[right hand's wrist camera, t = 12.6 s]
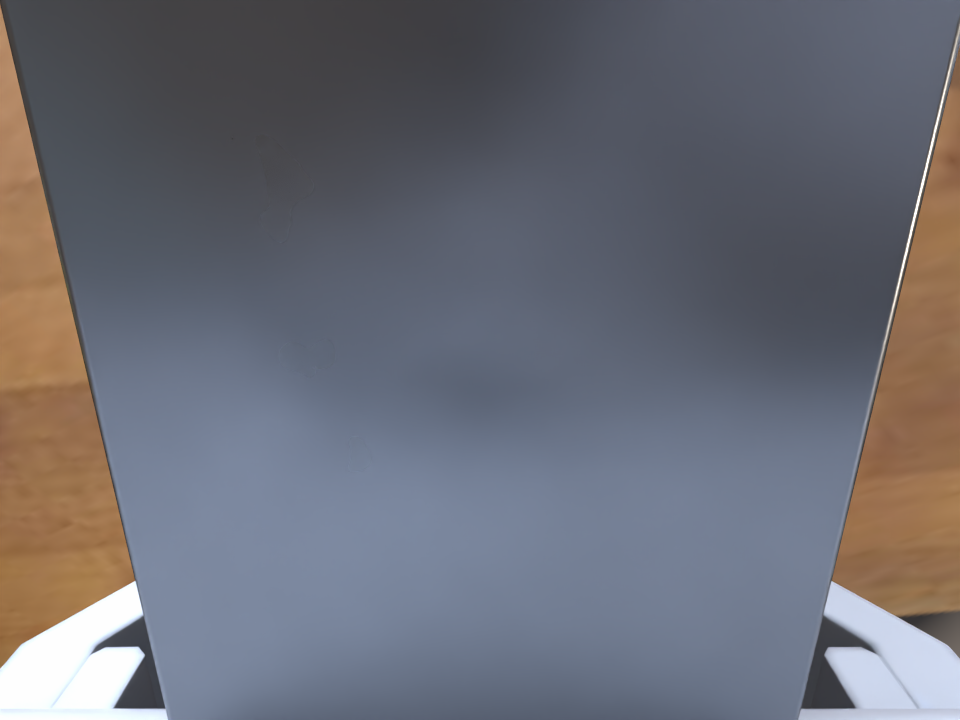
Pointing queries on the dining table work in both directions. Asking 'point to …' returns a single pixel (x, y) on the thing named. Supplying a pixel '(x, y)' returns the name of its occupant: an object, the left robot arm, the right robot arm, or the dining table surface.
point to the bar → (483, 334)
